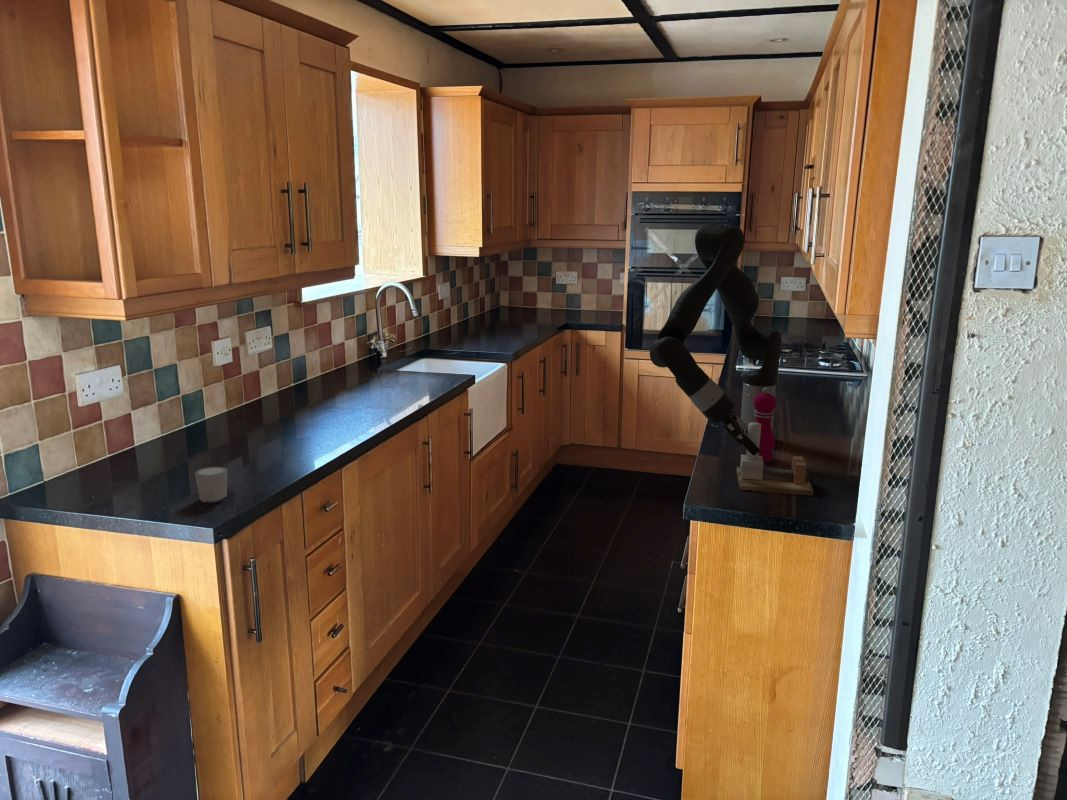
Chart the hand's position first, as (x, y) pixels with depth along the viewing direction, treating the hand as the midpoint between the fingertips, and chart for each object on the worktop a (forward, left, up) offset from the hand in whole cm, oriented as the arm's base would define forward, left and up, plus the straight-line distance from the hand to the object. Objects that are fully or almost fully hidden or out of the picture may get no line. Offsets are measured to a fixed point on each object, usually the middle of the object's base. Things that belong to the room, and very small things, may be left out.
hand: (755, 448), depth 194 cm
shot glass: (+42, -123, -9) cm, 130 cm away
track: (0, +5, -9) cm, 10 cm away
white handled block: (0, -1, -7) cm, 7 cm away
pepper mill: (-20, +3, -9) cm, 22 cm away
